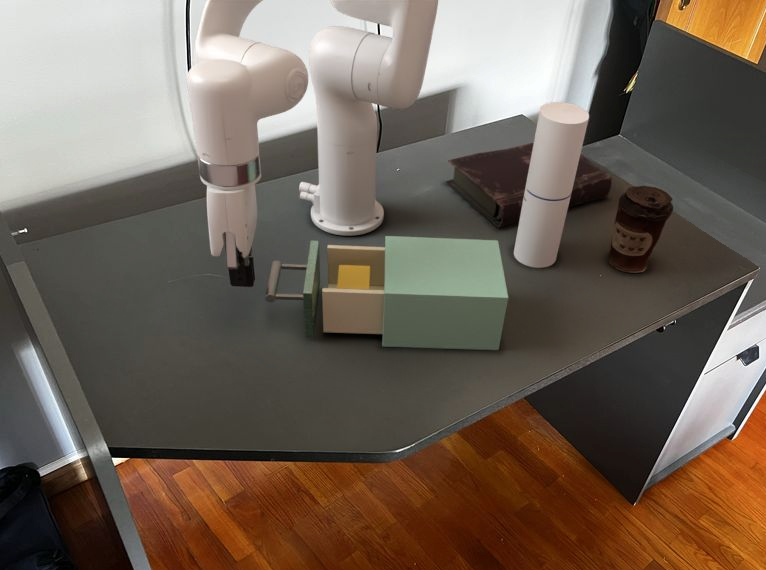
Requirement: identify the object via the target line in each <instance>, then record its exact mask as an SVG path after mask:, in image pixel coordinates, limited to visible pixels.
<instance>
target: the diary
mask: <svg viewBox="0 0 766 570" xmlns="http://www.w3.org/2000/svg"><path fill="white" fill-rule="evenodd" d="M533 144H534V141H533V142H529V143H526V144H521V145H517V146H512V147H508V148H504V149H496V150H490V151H483V152H476V153H474V154H473V153H472V154H469V155H464V156H460V157H456V158H452V159H448V160H447V162H448V163H449V164H450V165H452V166H453V167H454V171H453V179H449V180H446V181H445V183H446V184H447V185H448V186H449V187H451V189H453V190H454V191H455V192H456V193H458V194H459V196H461V197H462V198H463V199H464V200H465V201H467V202H468V203H469V204H470V205H471V206H472V207H474V208H475V210H477V211H478V212H479V213H480V214H481V215H482V216H483V217H485V218H486V219H487V220H488V221H489V222H491V223H492V224H493V225H494V226H495V227H496V228H498V229H499V228H502V227H506V226H509V225H512V224H515V223H519V220H520V215H521V209H522V204H523V198H524V193H525V187H526V182H527V177H528V171H529V166H530V160H531V155H532V150H533ZM612 182H613V176H612V175H611V174H609V173H607V172H606V171H604V170H603V169H601V168H600V167H599V166H598V165H596V164H595V163H594V162H592V161H591V160H590V159H588V158H587V157H586V156H585V155H584V154H582V153H581V154H580V158H579V162H578V167H577V171H576V175H575V180H574V184H573V188H572V192H571V197H570V201H569V206H568V208H571V207H574V206H577V205H579V204H583V203H588V202H592V201H596V200H600V199H601V200H602V199H604V198H607V197H608V196H609V193H610V191H611V188H612Z"/></svg>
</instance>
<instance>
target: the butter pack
mask: <svg viewBox="0 0 766 570" xmlns="http://www.w3.org/2000/svg"><path fill="white" fill-rule="evenodd" d="M337 289H363V290H370V266H357V265H339V271H338V281H337Z"/></svg>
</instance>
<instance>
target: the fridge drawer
mask: <svg viewBox="0 0 766 570" xmlns="http://www.w3.org/2000/svg"><path fill="white" fill-rule="evenodd" d="M309 243H310V244H309V249H308V257H307V263H306V264H298V263H296V264H295V263H282V262H281V261H280V260H274V261H272V263H271V267H270V271H269V277H268V280H267V281H268V282H267V286H266V290H265V296H264V299H265V301H266V302H267V303H273V302H275V301H276V300H279V301H280V300H282V301H302V303H303V319H304V320H303V321H304V336H305V337H307V338H308V337H309V338H313V337H315V331H316V321H317V314H318V305H319V299H320V297H319V296H320V288H321V264H320V263H321V261H320V260H321V259H320V241H319V240H310V242H309ZM326 251H327V287H322V289H321V295H322V298H321V299H322V327H323V328H322V331H323V333H333V334H334V333H337V334H367V335H382V334H383V314H384V284H385V246H366V245H365V246H361V245H341V244H340V245H339V244H338V245H337V244H327V250H326ZM339 265H357V266H370V290H363V289H337V281H338V271H339ZM282 270H290V271H291V270H292V271H293V270H294V271H305V276H304V283H303V290H302V294H301V293H300V294H299V293H297V294H296V293H278V287H279V282H280V278H281V277H280V276H281V271H282Z"/></svg>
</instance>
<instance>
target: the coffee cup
mask: <svg viewBox="0 0 766 570" xmlns="http://www.w3.org/2000/svg"><path fill="white" fill-rule="evenodd" d="M672 201H673V198H672V196H671V195H670V194H669V193H668V192H666V191H665V190H663V189H661V188H658V187H655V186H649V185H640V186H639V185H638V186H634V185H633V186H630V187H628V188H627V189H626V191H625V192H624V193H622V194H621V195H620V196H619V198H618V204H617V208H616V209H617V211H616V213H615V219H614V224H613V230H612V233H611V241H610V250H609V253H608V261H609V264H610V265H611V266H613V267H614V268H615V269H617V270H619V271H622V272H625V273H631V274H638V273H644V272H645V271H646V269H648V261H649V258H650V257H651V255H652V253H653V250H654V248H656V247H657V244H658V242H659V240H660V237H661V234H662V232H663V229H664V228H665V226H666V223H667V221H668V220H669V219H670V217H671V216H672V214H673V211H674V205H673V203H672Z"/></svg>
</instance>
